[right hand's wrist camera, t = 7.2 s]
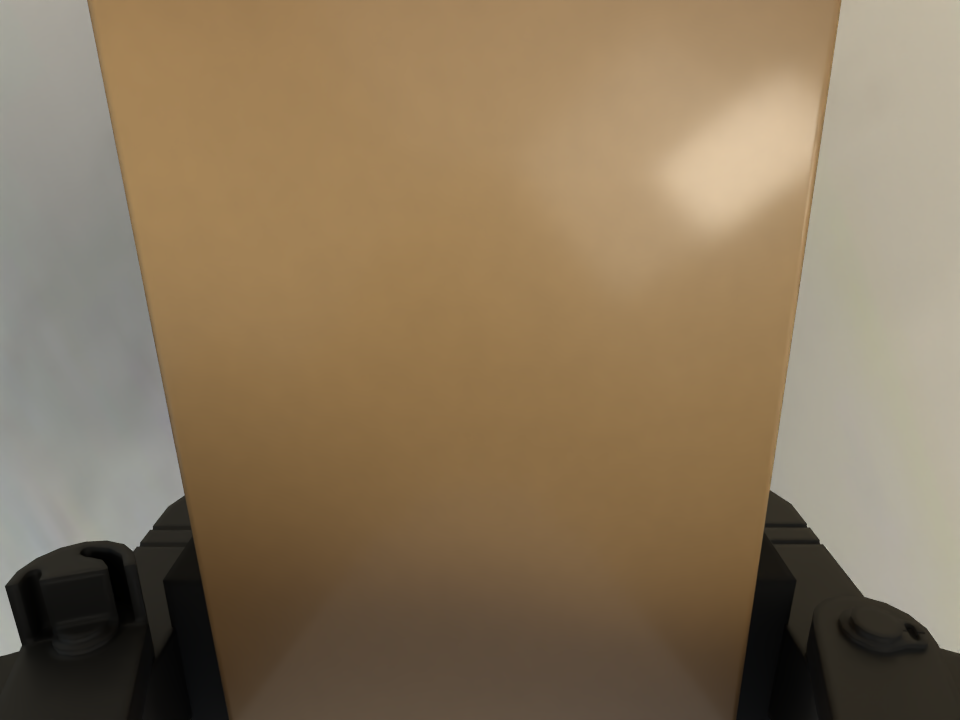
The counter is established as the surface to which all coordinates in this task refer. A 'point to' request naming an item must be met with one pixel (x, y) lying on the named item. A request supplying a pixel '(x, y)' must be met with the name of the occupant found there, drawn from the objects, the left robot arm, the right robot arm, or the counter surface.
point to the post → (472, 336)
